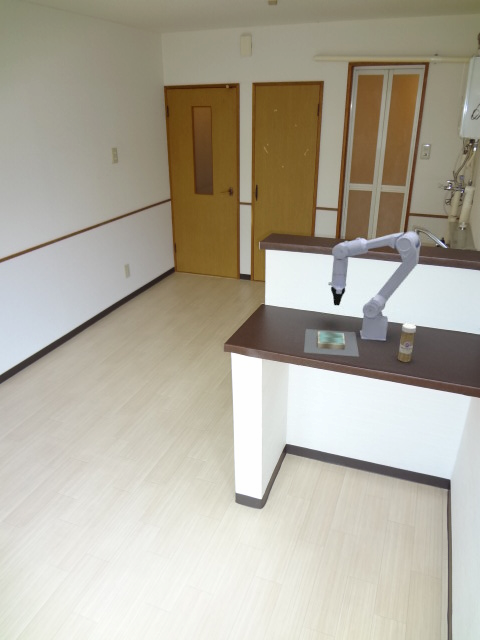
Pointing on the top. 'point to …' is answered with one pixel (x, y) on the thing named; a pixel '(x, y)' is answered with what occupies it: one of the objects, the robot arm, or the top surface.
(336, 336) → the teal framed tile
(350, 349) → the slate mat
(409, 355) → the sprinkles bottle
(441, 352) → the top surface
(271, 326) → the top surface
